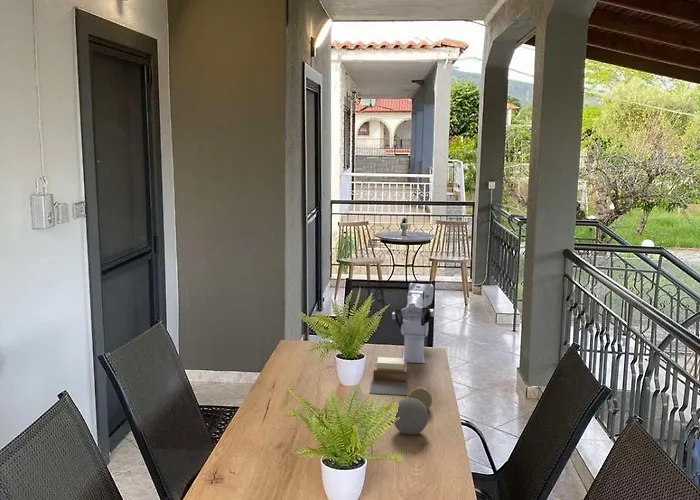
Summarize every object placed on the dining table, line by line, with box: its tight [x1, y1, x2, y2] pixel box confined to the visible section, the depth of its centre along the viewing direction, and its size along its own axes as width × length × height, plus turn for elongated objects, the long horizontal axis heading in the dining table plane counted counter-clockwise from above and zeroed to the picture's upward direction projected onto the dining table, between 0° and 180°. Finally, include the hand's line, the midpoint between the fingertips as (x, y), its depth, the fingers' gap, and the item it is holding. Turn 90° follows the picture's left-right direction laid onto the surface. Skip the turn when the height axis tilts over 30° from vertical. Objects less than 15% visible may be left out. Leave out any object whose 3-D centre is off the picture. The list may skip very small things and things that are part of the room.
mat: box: [369, 380, 408, 397], centre depth 215 cm, size 11×12×1 cm
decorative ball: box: [393, 397, 429, 436], centre depth 182 cm, size 10×10×10 cm
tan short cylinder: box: [407, 386, 433, 410], centre depth 200 cm, size 8×10×10 cm
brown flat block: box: [372, 358, 408, 383], centre depth 226 cm, size 12×11×4 cm
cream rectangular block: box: [377, 356, 404, 370], centre depth 225 cm, size 6×9×2 cm, turn 84°
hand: (410, 324), depth 222 cm, fingers open, 7 cm apart
